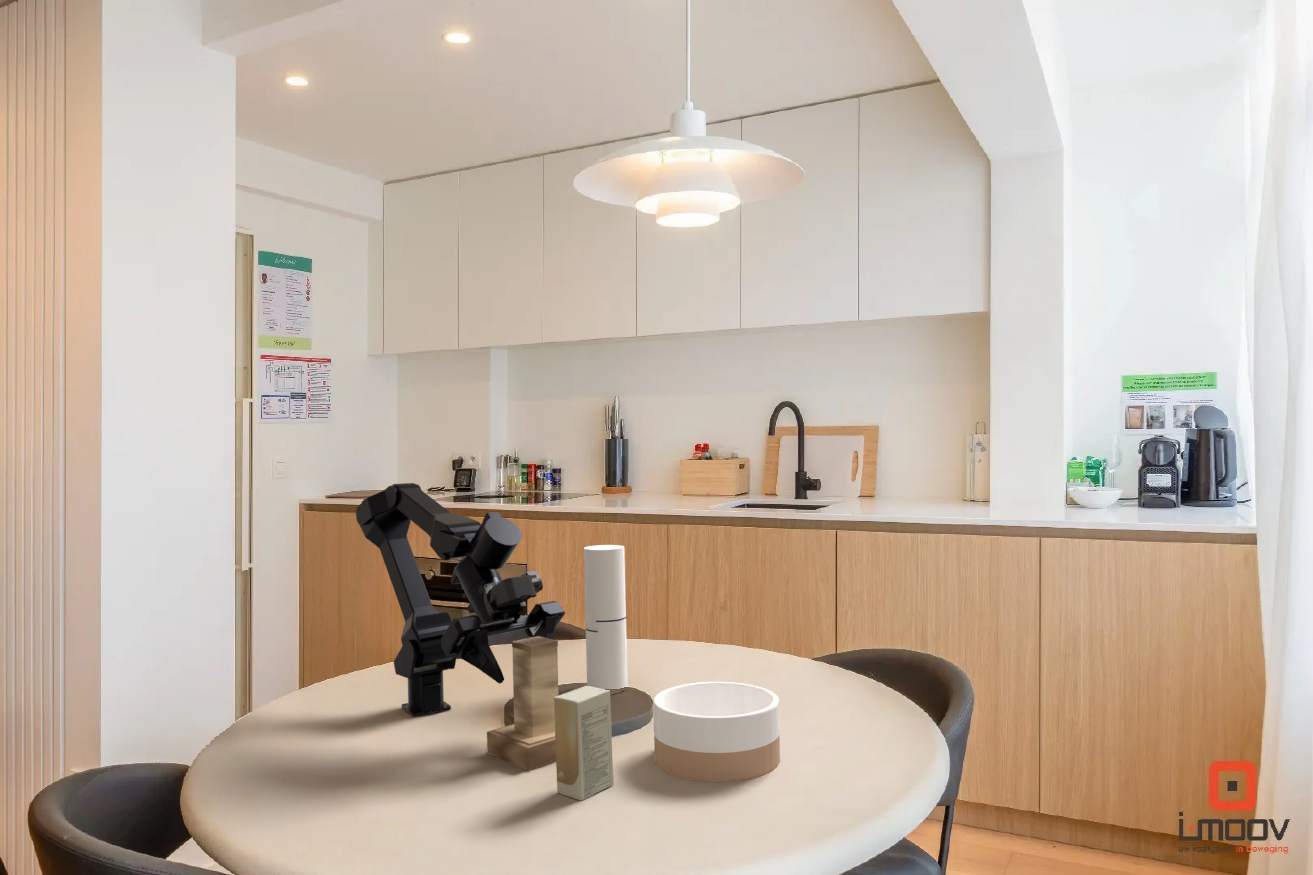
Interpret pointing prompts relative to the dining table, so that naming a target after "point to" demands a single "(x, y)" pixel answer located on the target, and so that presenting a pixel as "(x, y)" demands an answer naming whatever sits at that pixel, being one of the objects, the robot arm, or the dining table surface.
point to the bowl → (716, 731)
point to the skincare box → (583, 742)
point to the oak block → (535, 684)
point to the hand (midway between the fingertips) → (529, 675)
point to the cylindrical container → (605, 616)
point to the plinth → (522, 747)
